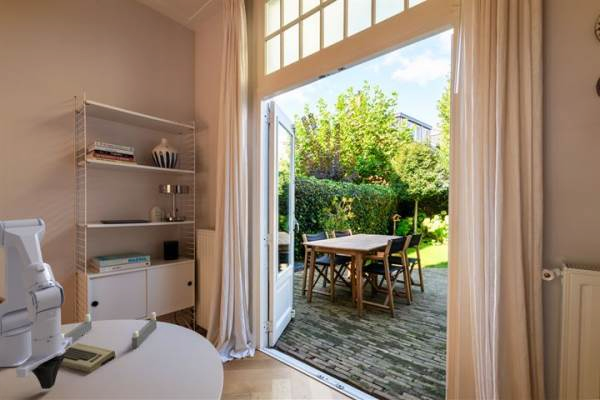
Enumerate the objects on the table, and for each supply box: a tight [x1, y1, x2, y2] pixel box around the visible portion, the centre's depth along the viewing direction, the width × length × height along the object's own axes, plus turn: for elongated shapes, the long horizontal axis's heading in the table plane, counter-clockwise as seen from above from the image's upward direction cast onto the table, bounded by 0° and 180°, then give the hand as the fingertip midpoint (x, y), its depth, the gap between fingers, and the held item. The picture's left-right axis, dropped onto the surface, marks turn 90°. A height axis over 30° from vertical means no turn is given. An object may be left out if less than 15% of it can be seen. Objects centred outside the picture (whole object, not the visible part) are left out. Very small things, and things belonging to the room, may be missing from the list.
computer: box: [60, 342, 116, 374], centre depth 85 cm, size 16×8×3 cm, turn 72°
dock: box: [61, 311, 158, 350], centre depth 98 cm, size 25×14×6 cm, turn 93°
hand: (48, 386), depth 72 cm, fingers closed
